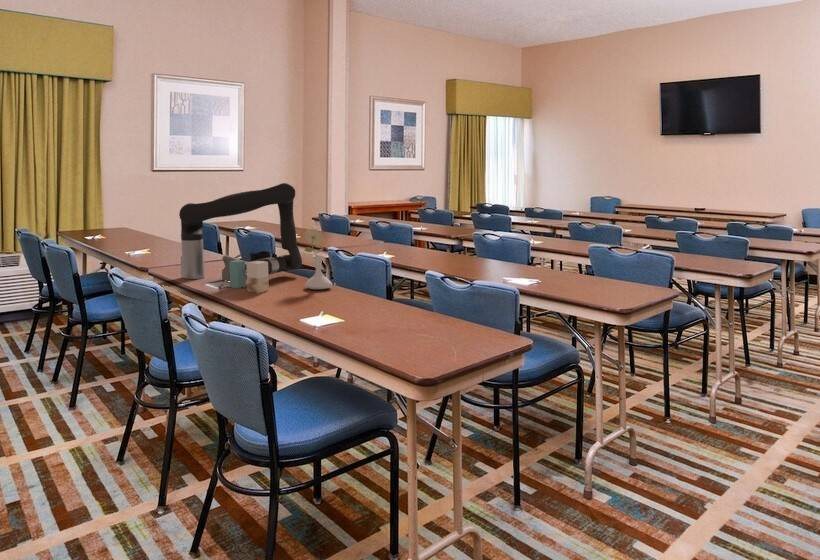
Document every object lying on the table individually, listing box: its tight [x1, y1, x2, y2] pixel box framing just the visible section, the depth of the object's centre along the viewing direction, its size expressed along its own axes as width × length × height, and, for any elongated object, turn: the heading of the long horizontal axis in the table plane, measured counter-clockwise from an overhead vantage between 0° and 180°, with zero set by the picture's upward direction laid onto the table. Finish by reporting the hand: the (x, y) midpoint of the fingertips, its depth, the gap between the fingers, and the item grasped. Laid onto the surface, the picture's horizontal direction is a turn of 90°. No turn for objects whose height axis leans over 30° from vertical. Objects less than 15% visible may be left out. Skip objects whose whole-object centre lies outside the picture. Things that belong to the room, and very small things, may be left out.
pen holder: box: [249, 250, 271, 262], centre depth 309 cm, size 9×9×10 cm
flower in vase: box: [303, 228, 333, 290], centre depth 271 cm, size 13×11×25 cm
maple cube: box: [246, 276, 270, 294], centre depth 265 cm, size 6×6×6 cm
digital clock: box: [221, 254, 247, 282], centre depth 289 cm, size 16×9×11 cm, turn 24°
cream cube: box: [245, 261, 269, 278], centre depth 264 cm, size 6×6×6 cm
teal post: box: [229, 259, 247, 289], centre depth 273 cm, size 4×4×11 cm
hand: (239, 271), depth 274 cm, fingers open, 8 cm apart
